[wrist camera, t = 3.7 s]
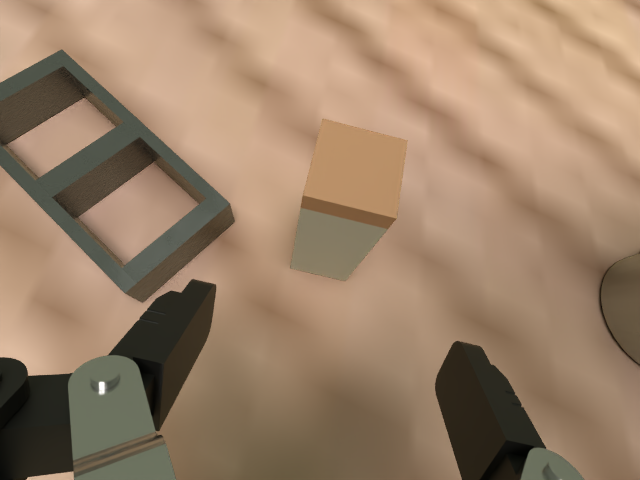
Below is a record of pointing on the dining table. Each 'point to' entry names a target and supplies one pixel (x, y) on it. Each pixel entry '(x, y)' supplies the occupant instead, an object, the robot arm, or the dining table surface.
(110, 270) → the divided rectangular frame
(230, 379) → the dining table surface
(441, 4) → the dining table surface
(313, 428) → the dining table surface
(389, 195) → the two-tone square post
